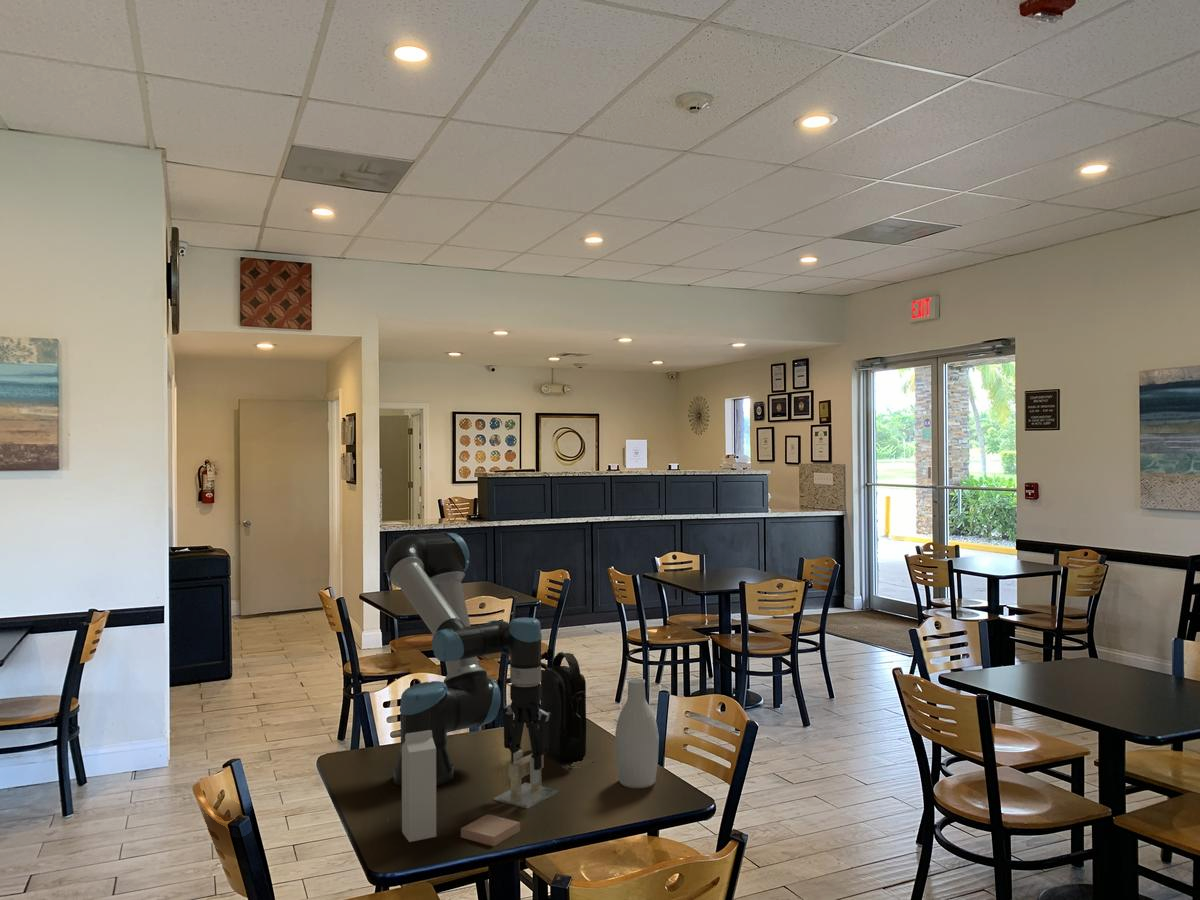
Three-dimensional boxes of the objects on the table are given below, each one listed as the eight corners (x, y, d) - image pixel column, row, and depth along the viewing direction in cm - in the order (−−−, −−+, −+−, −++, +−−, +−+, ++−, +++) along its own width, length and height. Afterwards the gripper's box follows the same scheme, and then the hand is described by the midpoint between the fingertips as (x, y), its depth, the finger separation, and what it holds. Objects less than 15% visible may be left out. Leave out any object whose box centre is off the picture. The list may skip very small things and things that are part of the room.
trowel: (525, 785, 218) (525, 749, 218) (557, 793, 213) (557, 756, 213) (494, 801, 208) (494, 762, 208) (527, 809, 202) (527, 770, 203)
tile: (487, 824, 194) (460, 839, 187) (487, 814, 194) (460, 828, 187) (520, 832, 190) (493, 848, 182) (519, 822, 190) (493, 837, 182)
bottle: (662, 776, 223) (661, 676, 224) (655, 791, 212) (654, 686, 213) (620, 773, 226) (619, 674, 226) (610, 788, 215) (609, 684, 215)
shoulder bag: (596, 764, 233) (595, 659, 233) (565, 769, 229) (564, 662, 229) (564, 741, 253) (563, 644, 254) (534, 745, 249) (533, 647, 250)
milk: (401, 832, 190) (400, 730, 190) (429, 827, 192) (427, 726, 193) (409, 842, 184) (408, 737, 185) (437, 836, 187) (436, 733, 188)
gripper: (488, 682, 212) (488, 778, 212) (545, 691, 203) (546, 792, 202) (507, 675, 219) (508, 769, 218) (564, 684, 209) (564, 782, 209)
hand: (526, 780), depth 210 cm, fingers open, 4 cm apart
